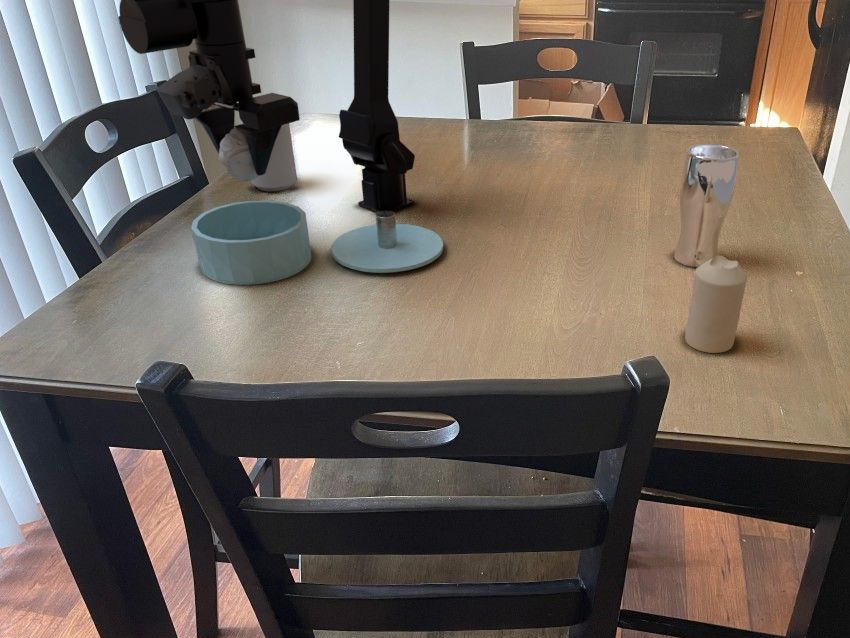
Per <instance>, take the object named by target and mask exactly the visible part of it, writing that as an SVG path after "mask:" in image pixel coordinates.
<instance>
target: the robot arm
mask: <svg viewBox="0 0 850 638" xmlns="http://www.w3.org/2000/svg"><path fill="white" fill-rule="evenodd" d="M352 3H353V4H352V5H353V9H352V10H353V15H352V16H353V99H352V101H351V103H350V105H349V106H348V108H347V109H340V110H339V113H338V116H339V123H340V129H339V134H338V138H339V139H341V140H342V146H343V149H344V150H346V152H347V153H348V154H349V155H350V157H351V160H352V162H353V164H354V165H356V166H361V167H364V168H361V174H362V175H361V176H362V179H361V191H362V200H360V201H358V203H357V205H358V206H359V207H362V208H365V209H368V210H371V211H374V212H376V213H377V212H379V211H392V212H394V213H395V212H397V211H399V210H401V209H402V210H403V209H404V208H407V207H409V206H411V205H413V204H415V200H414V199H412V198H409V197H407V184H406V183H407V182H406V181H407V180H406V174H407V172H408V171H410V170H414V169H413V168H414V163H415V160H416V159H415V158H416V154H415V153H414V152H413V151H412V150H411V149H409V148H408V147H407V146H406V145H405V144H404V143H403V142H402V141H401V138H400V137H401V136H400V130H399V129H400V128H399V121H398V119H397V116H396V114H395V112H394V110H393V107H392V105H391V104H390V100H389V84H390V83H389V79H390V78H389V77H390V76H389V74H390V73H389V71H390V69H389V68H390V0H353V1H352ZM118 23H119V26H120V29H121V31H122V34H123V37H124V38H125V40H126V43H128V45H129V47H130V48H131V49H132V50H133V51H134V52H135V53H137V54H139V55H144V54H149V53H157V52H162V51H168V50H173V49H181V48H187V47H190V46H191V45H192V44H193V41H194V45H195V50H189V52H188V53H189V54H188V55H187V57H188V62H189V67H187V68H185V69H184V70H182V71H179V72H177V74H175V75H173V76H172V77H170V78H169V79H167V80H166V81H164V82H163V83H162V84H160V85H159V86H158V87H157V89H156V92H157V94H158V95H159V96H160V98H161V100H162V102H163V104H164V106H165V107H166V108H167V110H168V112H169V113H170V115H171V116H174V117H175V116H179V117H182V118H183V119H185V120H195V121H196V122H197V123H199V124H200V125H201V126H202V128H203V129H204V131H205V132H206V134H207V135H208V137H209V139H210V141H211V143H212V145H213V146H214V149H215V150H216V152H217V155H219V150H220V142H221V141H222V140H223V138H224V137H225V135H226V134H228V133H230V131H231V130H232V129H234V128H236V129H237V130H238V131H240V132H241V133H242V134H243V135H245V137H246V139H247V143H248V147H249V151H250V154H251V158H252V162H253V165H254V168H255V171H256V174H257V175H259V176H261V175H264V174H265V173H266V170H267V166H268V163H269V160H270V157H271V153H272V150H273V147H274V144H275V141H276V139H277V136H278V134H279V131H280V129H281V127H282V125H285V124H288V123H289V124H291V123H294V122H295V123H296V122H299V121H300V119H301V116H300V111H299V104H298V102H297V101H296V100H295V99H294V98H293V97H291V96H288V95H284V94H280V93H275V92H269V93H266V94H262V88H261V87H262V86H261V84H260V83H256V82H253V79H252V78H253V77H252V72H251V67H250V61H249V60H251V59H256V52H255V48H253V47H252V48H251V47H247V44H246V38H245V32H244V26H243V20H242V15H241V9H240V4H239V0H120V2H119V15H118ZM258 94H261V95H258ZM254 95H258V96H254ZM235 111H236V112H238V115H239V120H240V121H241V123H242V122H243V124H241V123H240V124H237V125H235V119H236V118H235V117H236V115H235V113H236V112H235Z"/></svg>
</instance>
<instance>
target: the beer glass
mask: <svg viewBox="0 0 850 638" xmlns="http://www.w3.org/2000/svg"><path fill="white" fill-rule="evenodd" d="M739 156H740V153H739V150H737V149H735V148H733V147H730V146H726V145H722V144H717V143H700V144H693V145H690V146H689V147H687V149H686V155H685V159H684V163H683V169H682V172H681V179H680V187H679V207H680V210H679V211H680V231H679V232H680V234H679V238H678V241H677V245H676V248H675V250H674V254H673V257H674V259H675V261H677V262H678V263H679V264H681V265H683V266H686V267H690V268H696V269H697V268H698V267H699V266H700V265H702V264H703V263H705V262H707V261H709V260H711V259H712V258H714V257H715V256H720V254H719V250H720V249H719V245H720V244H719V243H720V236H721V231H722V228H723V226H724V223H725V220H726V218H727V215H728V212H729V210H730V207H731V203H732V201H733V197H734V193H735V189H736V184H737V183H736V182H737V177H738V166H739V165H738V164H739Z"/></svg>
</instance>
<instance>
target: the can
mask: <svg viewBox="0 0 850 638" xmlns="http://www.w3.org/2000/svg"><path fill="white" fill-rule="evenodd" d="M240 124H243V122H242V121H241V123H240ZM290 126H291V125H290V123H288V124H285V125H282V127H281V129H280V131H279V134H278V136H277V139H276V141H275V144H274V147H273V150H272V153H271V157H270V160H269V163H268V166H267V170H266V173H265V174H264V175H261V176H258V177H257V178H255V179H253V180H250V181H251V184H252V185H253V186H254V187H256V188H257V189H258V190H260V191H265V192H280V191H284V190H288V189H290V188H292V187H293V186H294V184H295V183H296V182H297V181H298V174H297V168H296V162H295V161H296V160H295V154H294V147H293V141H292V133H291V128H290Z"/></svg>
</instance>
